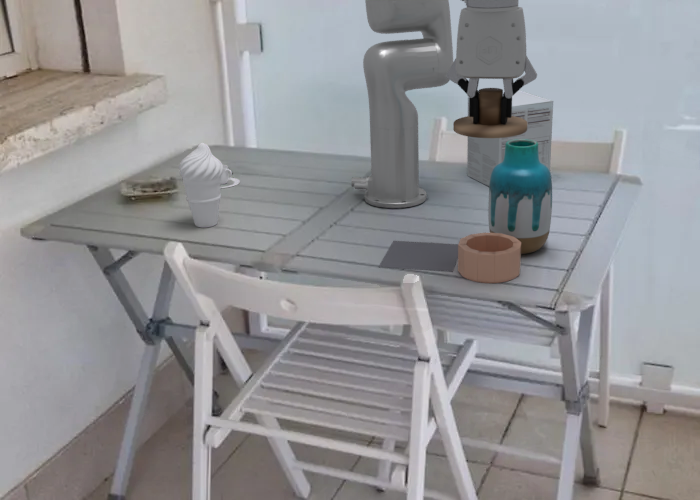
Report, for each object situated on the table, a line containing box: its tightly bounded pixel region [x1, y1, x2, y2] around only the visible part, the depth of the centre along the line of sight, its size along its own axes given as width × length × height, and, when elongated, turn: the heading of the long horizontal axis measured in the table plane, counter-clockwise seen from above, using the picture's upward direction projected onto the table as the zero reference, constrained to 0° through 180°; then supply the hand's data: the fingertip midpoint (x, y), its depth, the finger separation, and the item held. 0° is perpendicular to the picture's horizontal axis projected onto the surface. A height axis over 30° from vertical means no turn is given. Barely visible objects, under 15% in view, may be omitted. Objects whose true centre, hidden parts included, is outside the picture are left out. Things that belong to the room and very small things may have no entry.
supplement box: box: [466, 89, 554, 187], centre depth 198 cm, size 13×13×18 cm
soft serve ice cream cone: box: [178, 142, 224, 228], centre depth 178 cm, size 8×8×16 cm
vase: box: [487, 139, 553, 255], centre depth 159 cm, size 11×11×19 cm
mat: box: [378, 240, 459, 273], centre depth 161 cm, size 12×12×1 cm
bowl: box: [457, 232, 522, 284], centre depth 152 cm, size 10×10×5 cm
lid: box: [452, 87, 527, 138], centre depth 143 cm, size 11×11×6 cm
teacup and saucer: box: [220, 164, 241, 189], centre depth 206 cm, size 9×8×4 cm
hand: (490, 120), depth 144 cm, fingers closed on lid, 3 cm apart
